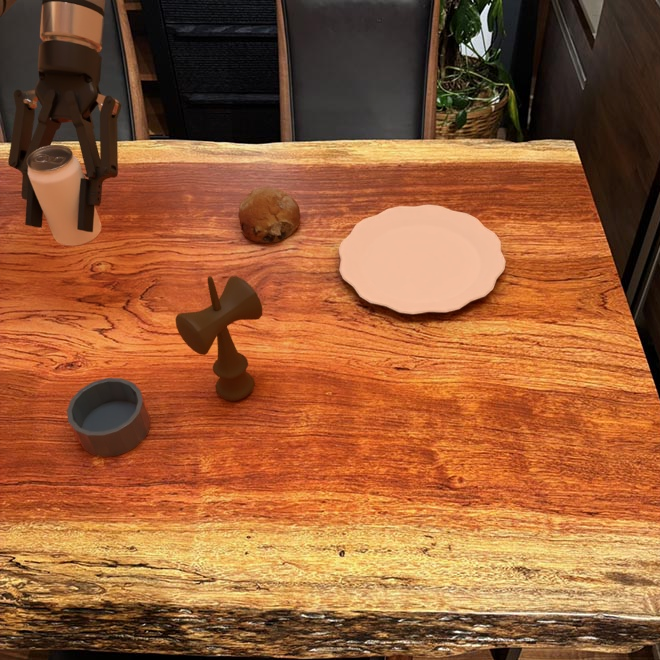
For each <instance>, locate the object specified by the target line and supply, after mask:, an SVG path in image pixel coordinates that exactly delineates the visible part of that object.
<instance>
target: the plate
mask: <svg viewBox="0 0 660 660" xmlns="http://www.w3.org/2000/svg"><path fill="white" fill-rule="evenodd" d="M337 251H338V255H339V259H340V262H339V263H340V264H339V270H338V271H339V273H340V276H341V278H342V280H343V281H344V282H345V283H347V284H348V285H349V286H350V287H352V288H353V289H354V291H355V292H356V294H357V296H358V297H359V298H361V299H362V300H363V301H365V302H367V303H369V304H371V305H375V306H380V307H384V308H387V309H389V310H391V311H394V312H396V313H398V314H403V315H409V316H415V315H422V314H429V313H432V314H433V313H434V314H448V313H453V312H457V311H459V310H461V309H463V308H464V307H466V306H467V305H469V304H471V303H472V302H476V301H478V300H481V299H484V298H485V297H487V296H488V295H489V294H490V293H491V292H492V291H493V290H494V288H495V285H496V283H497V280H498V278H499V277H500V276H501V275H502V274H503V273H504V271H505V268H506V263H507V262H506V258H505V256H504V254H503V252H502V241H501V239H500V237H498V235H497V233H496V232H494V231H492V230H491V229H489V228H487V227H486V226H485V225H484V224H483V223H482V222H481V221H480V220H479V219H478V217H475V216H473V215H471V214H469V213H467V212H461V211H456V210H452V209H451V208H450V209H449V208H447V207H444V206H442V205H436V204H422V205H414V206H411V205H410V206H409V205H407V206H406V205H398V206H394V207H389V208H386V209H385V210H383V211H381V212H379V213H378V214H375V215H372V216H369V217H365V218H363V219H362V220H360V221H359V222H357V223H356V224H354V226H353V227H352V230H351V232H350V233H349V234H348V235H347V236H346V237H345V238H344V239H342V240H341V243H340V245H339V247H338V250H337Z"/></svg>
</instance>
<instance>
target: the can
mask: <svg viewBox="0 0 660 660" xmlns="http://www.w3.org/2000/svg"><path fill="white" fill-rule="evenodd" d="M27 165H28V176H29V179H30V182H31V184H32V186H33V189H34V191H35V194H36V196H37V199H38V201H39V203H40V206H41V208H42V211H43V216H44V218H45V220H46V222H47V225H48V227H49V229H50V230H49V231H50V232H51V235H52V237H53V239H54V241H55V242H57V243H58V244H60V245H62V246H65V247H72V248H73V247H74V248H75V247H81V246H85V245H87V244H89V243H91V242H93V241H95V239H97V237H98V236H99V234H100V233H101V231H102V222H101V219H100V217H99V214H98V211H97V208H96V207H95V208H94V222H93V232H86V231H82V230H78V229H77V225H78V211H79V196H80V181H81V178H85V179H86V176H85V175H84V174H85V173H84V171H83V168H82V166H81V163H80V161H79V158H77V157H76V156H75V155H74V154H73V150H72V149H71V148H69V147H68V146H66V145H63V144H51V145H49V146H45V147H42V148H39V149H37V150H35V151H34V152H32V153H31V154H30V155H29V156H28V158H27Z"/></svg>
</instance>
